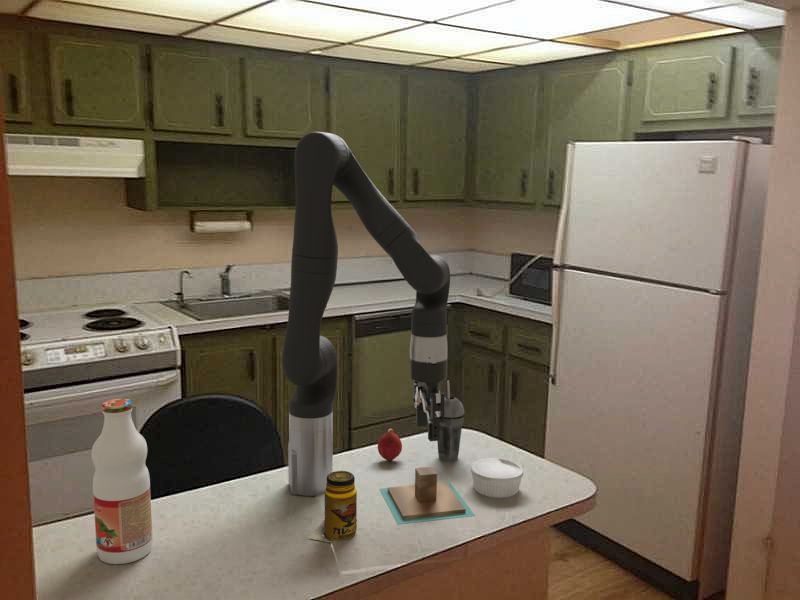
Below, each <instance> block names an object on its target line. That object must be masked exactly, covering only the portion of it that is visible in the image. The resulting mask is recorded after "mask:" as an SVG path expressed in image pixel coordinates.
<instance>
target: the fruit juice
mask: <svg viewBox="0 0 800 600" xmlns="http://www.w3.org/2000/svg"><path fill="white" fill-rule="evenodd" d="M133 407H134V406H133V401H132V400H131V399H128V398H114V399H113V398H112V399H108V400H105V401H104V402H103V403H102V404H101V410H102V414H103V415H104V420H103V425H102V426H103V427H102V430H101V432H100V435H99V436H98V438H97V439H96V440H95V442H94V443H93V446H92V447H91V459H92V460H91V461H92V463H93V466H94V468H95V472H94V475H93V478H92V496H93V512H94V527H95V541H96V542H95V543H96V553H97V556H98V558H99V560H100V561H102V562H103V563H106V564H110V565H124V564H129V563H133V562H136V561H138V560H141V559H143V558H144V557H146V556H147V555H148V554H149V553H150V552H151V550H152V548H153V545H154V544H153V541H154V539H153V522H152V519H153V518H152V503H151V502H152V499H151V498H152V497H151V482H150V481H151V478H150V472H149V469H148V467H147V465H146V460H147V456H148V445H147V441H146V439H145V437H144V436H143V435H142V434H141V433H140V432H139V431H138V430H137V429H136V427H135V424H134V421H133V418H132V414H131V413H132V411H133Z"/></svg>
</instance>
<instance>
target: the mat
mask: <svg viewBox="0 0 800 600" xmlns="http://www.w3.org/2000/svg"><path fill="white" fill-rule="evenodd" d="M445 482H446V483H447V485H448V486H449V487H450V489H451V490H452V491H453V493H454V494H455V496H456V497H457V498H458V500H459V501H460V502H461V504H462V505H463V506H464V508H465V509H466V513H460V514H451V515H442V516H433V517H423V518H414V519H405V520H403V518H402V517H401V515H400V513H399V511H398V509H397V507H396V506H395V504H394V502H393V500H392V498H391V496H390V495H389V493H388V488H389V487H385V488H378V489H379V492H380V493H381V495H382V498H383V499H384V501H385V503H386V505H387V507H388V509H389V511H390V512H391V514H392V516H393V518H394V520H395V522H396V523H397V525H405V524H412V523H423V522H432V521H433V522H434V521H441V520H450V519H457V518H466V517H476V515H475V513H474V512H473V511H472V509H471V508H470V507H469V505H468V504H467V502H466V501H465V500H464V499H463V498H462V496H461V495H460V494H459V492H458V491H457V490H456V488H455V487H454V486H453V484H452V483H451V481H445Z"/></svg>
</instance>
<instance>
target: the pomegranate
mask: <svg viewBox="0 0 800 600" xmlns="http://www.w3.org/2000/svg"><path fill="white" fill-rule="evenodd" d="M402 443H403V442H402V440H401V438H400V437H399V435H397V434H396V433H395V432H394V430H393V429H392V428H389V429H388V430H387V431H386V433H383V435H381V436H380V438H379V440H378V442H377V450H378V454H379V455H380V457H382V458H383V459H384V460H385V461H387V462H392V461H393V460H395V459H396V458H397V457H398V456H400V454H401V453H402V450H403V444H402Z"/></svg>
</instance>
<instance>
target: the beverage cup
mask: <svg viewBox="0 0 800 600" xmlns="http://www.w3.org/2000/svg"><path fill="white" fill-rule="evenodd" d="M446 383H447V385H446V387H447V396H444V419H445V420H444V423H440V438H439V440H438V441H437V442H436V443H437V454H438V458H439V460H440V461H443V462H455V461H457V460H458V458H459V453H460V446H461V444H460V443H461V438H462V437H461V435H462V429H463V428H462V427H463V424H464V421H465V416H466V412H465V409H464V404H463V403H462V402H461V401H460V400H459V399H458V398H456V397H454V396H450V395H451V391H450V380H447V382H446ZM435 417H437V414H436V412H435Z"/></svg>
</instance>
